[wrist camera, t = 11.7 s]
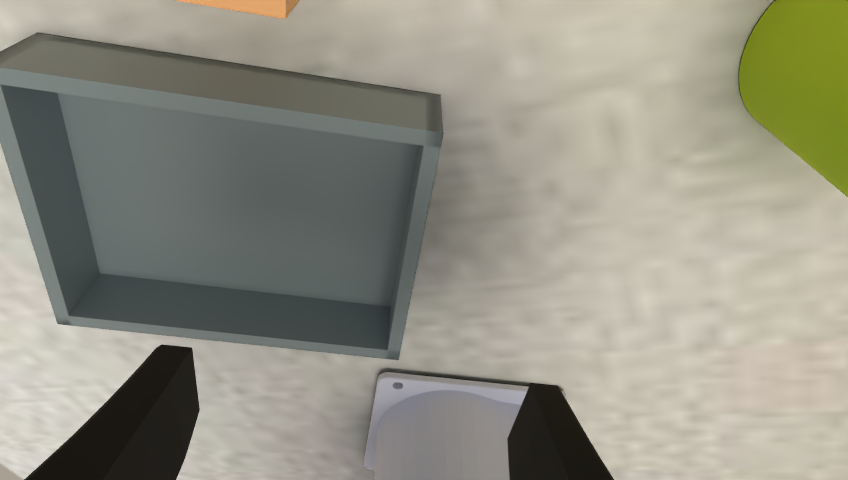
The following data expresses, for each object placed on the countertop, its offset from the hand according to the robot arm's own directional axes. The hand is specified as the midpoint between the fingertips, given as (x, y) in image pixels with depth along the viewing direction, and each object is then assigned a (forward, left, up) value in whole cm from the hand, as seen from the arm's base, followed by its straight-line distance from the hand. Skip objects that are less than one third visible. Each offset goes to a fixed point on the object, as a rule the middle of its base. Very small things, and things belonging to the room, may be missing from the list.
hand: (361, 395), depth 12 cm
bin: (+5, +2, -10) cm, 12 cm away
